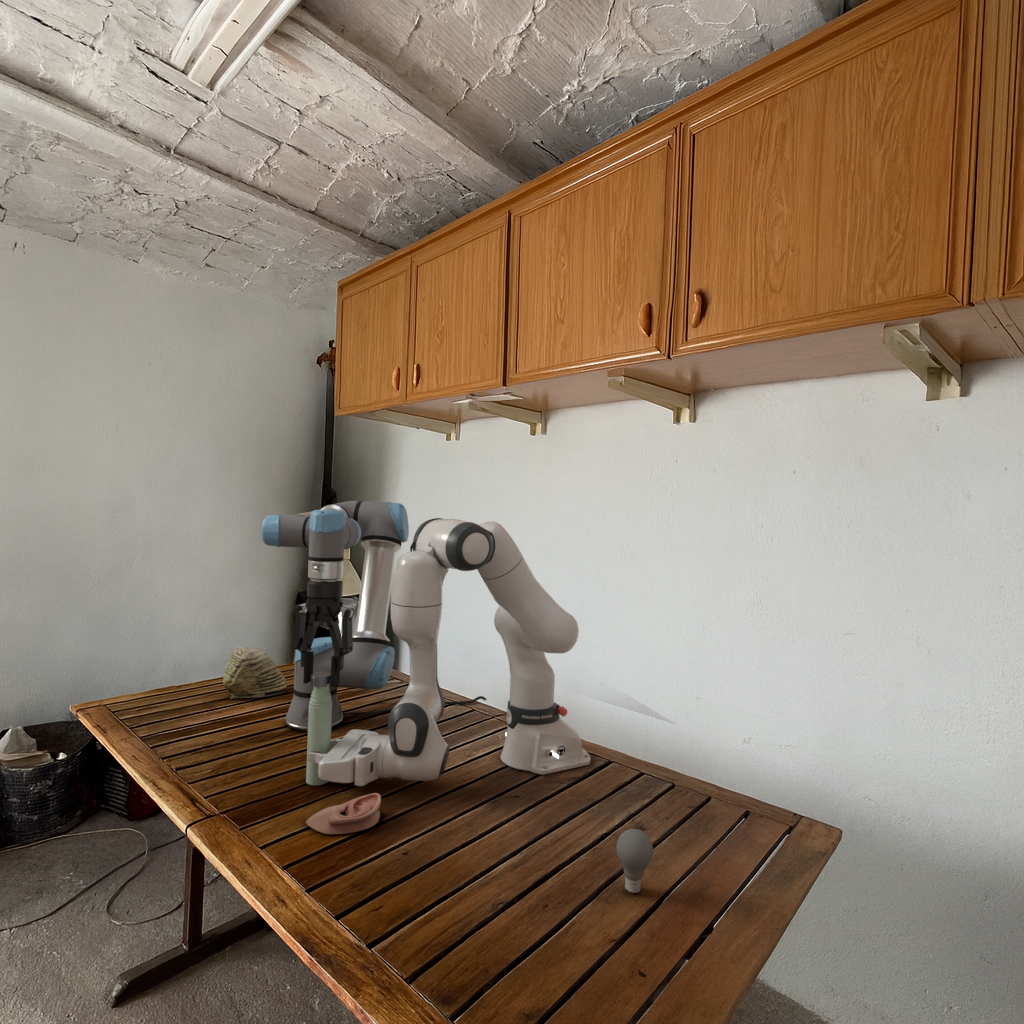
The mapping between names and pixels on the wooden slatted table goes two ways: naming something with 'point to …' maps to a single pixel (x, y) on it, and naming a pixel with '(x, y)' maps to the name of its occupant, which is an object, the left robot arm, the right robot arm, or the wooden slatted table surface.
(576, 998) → the wooden slatted table surface
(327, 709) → the bottle
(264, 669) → the fossil
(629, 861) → the light bulb
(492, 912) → the wooden slatted table surface
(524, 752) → the right robot arm
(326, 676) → the cap
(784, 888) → the wooden slatted table surface
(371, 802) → the anatomical model
